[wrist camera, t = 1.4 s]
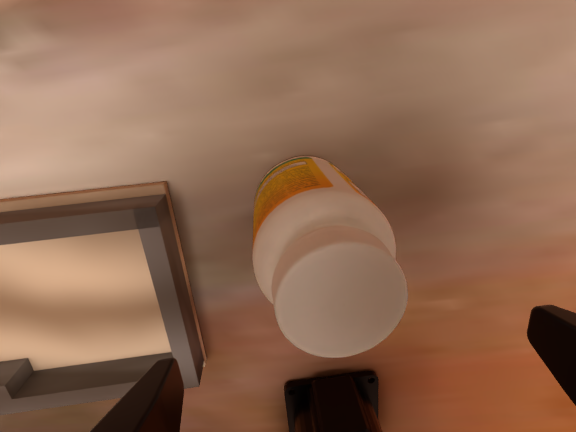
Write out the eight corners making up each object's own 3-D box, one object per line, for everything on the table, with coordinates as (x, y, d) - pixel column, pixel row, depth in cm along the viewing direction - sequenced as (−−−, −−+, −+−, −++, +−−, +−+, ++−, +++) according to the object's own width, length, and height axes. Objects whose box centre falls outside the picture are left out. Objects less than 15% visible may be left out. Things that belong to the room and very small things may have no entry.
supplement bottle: (362, 168, 18) (465, 244, 9) (331, 254, 20) (393, 387, 11) (267, 141, 17) (281, 198, 8) (242, 234, 19) (232, 362, 10)
